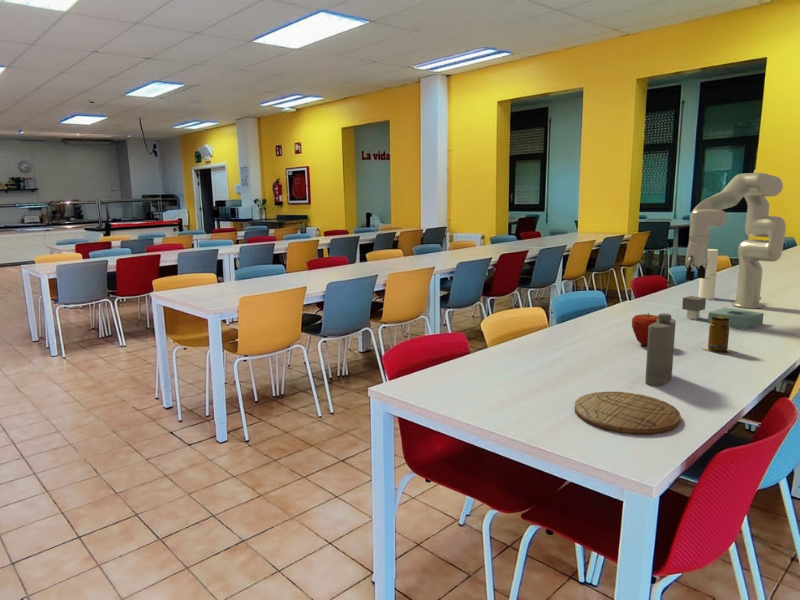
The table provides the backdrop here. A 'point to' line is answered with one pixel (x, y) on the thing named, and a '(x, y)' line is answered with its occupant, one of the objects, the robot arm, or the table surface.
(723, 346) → the condiment
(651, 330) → the flask
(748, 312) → the socket
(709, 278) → the cylindrical container
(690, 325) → the table surface
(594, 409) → the trivet
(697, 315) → the plug
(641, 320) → the apple
